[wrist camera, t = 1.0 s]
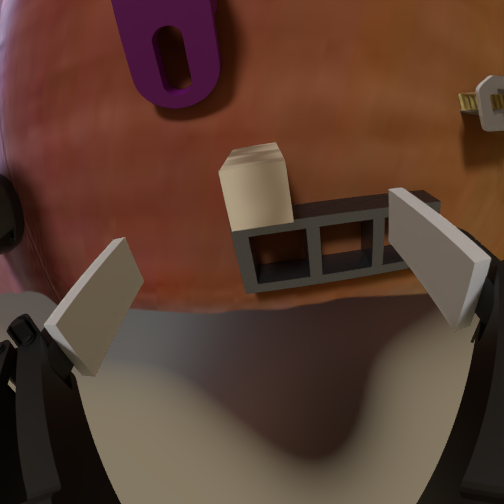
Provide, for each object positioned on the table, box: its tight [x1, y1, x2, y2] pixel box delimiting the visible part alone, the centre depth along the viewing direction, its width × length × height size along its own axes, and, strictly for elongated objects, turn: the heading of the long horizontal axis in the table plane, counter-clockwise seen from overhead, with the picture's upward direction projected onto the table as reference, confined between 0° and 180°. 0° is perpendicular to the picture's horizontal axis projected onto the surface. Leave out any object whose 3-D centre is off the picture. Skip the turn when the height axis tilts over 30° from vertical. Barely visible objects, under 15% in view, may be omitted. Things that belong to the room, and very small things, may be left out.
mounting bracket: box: [111, 0, 221, 108], centre depth 22 cm, size 10×8×18 cm
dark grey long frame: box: [230, 190, 441, 294], centre depth 33 cm, size 26×9×4 cm, turn 100°
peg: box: [219, 143, 294, 232], centre depth 26 cm, size 5×5×12 cm
